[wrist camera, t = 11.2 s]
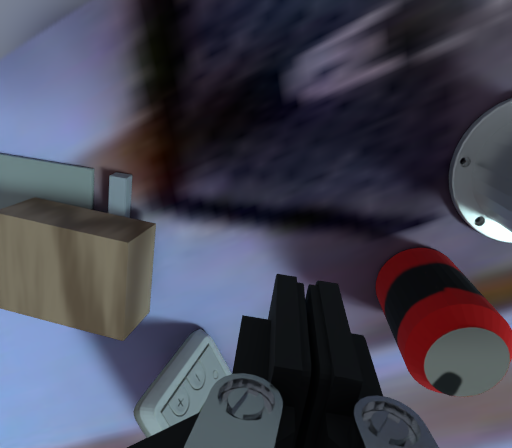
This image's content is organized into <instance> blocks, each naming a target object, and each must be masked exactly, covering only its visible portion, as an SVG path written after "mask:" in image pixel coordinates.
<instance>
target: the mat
mask: <svg viewBox="0 0 512 448" xmlns="http://www.w3.org/2000/svg"><path fill="white" fill-rule="evenodd" d="M93 196H94V169H93V168H87V167H81V166H75V165H69V164H63V163H57V162H50V161H44V160H38V159H32V158H26V157H20V156H14V155H8V154H1V153H0V209H2V208H5V207H8V206H11V205H14V204H17V203H20V202H23V201H25V200H28V199H31V198H34V197H36V198H40V199H45V200H49V201H54V202H59V203H63V204H68V205H72V206H77V207H82V208H86V209H91V210H93Z"/></svg>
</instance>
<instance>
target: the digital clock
mask: <svg viewBox="0 0 512 448" xmlns="http://www.w3.org/2000/svg"><path fill="white" fill-rule="evenodd" d="M228 375H231V372H230V370H229V368H228V366H227V364H226V363H225V361H224V359H223V357H222V355H221V353H220V352H219V350H218V348H217V346H216V345H215V343H214V341H213V340H212V338H211V337H210V336H209V335H208V334H207V333H206V332H205V331H203V330H202V329H199V330H196V331H194V332H193V333H191V334H190V335H189V337H188V338H187V339H186V340H185V342H184V343H183V344H182V345H181V347H180V348H179V349H178V351H177V352H176V353H175V354H174V356H173V357H172V358H171V360H170V361H169V362H168V363H167V365H166V366H165V367H164V369H163V370H162V371H161V372H160V374H159V375H158V376H157V378H156V379H155V380H154V381H153V383H152V384H151V385H150V387H149V388H148V389H147V390H146V392H145V393H144V394H143V396H142V397H141V398H140V400H139V401H138V403H137V404H136V406H135V408H134V417H135V419H136V421H137V423H138V425H139V426H140V428H141V430H142V431H143V433H144V434H145V436H146V438H148V437H150V436H152V435H154V434H156V433H158V432H160V431H162V430H164V429H166V428H168V427H170V426H172V425H174V424H176V423H178V422H181V421H183V420H185V419H187V418H189V417H191V416H193V415H195V414H197V413H199V412H201V410H202V407H203V405H204V403H205V401H206V399H207V397H208V395H209V392H210V390H211V388H212V387H213V385H214V384H215V383H216V382H217V381H218V380H220V379H221V378H223V377H225V376H228Z"/></svg>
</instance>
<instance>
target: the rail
mask: <svg viewBox="0 0 512 448" xmlns="http://www.w3.org/2000/svg"><path fill="white" fill-rule="evenodd" d="M131 189H132V175H130V174H124V173H118V172H115V173H114V174H112V175H110V179H109V205H108V213H109V214H114V215H118V216H123V217H127V218H130V207H131Z"/></svg>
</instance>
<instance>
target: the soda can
mask: <svg viewBox="0 0 512 448" xmlns="http://www.w3.org/2000/svg"><path fill="white" fill-rule="evenodd" d="M376 295H377V298H378V300H379V303H380V305H381V307H382V310H383V312H384V315H385V317H386V319H387V322H388V324H389V326H390V329H391V331H392V333H393V336H394V338H395V340H396V343H397V345H398V347H399V350H400V352H401V355H402V357H403V359H404V362H405V364H406V366H407V369H408V371H409V372H410V374H411V375H412V377H413V378H414V379H415V380H416V381H417V382H418V383H419V384H421V385H422V386H424V387H426V388H427V389H430V390H432V391H435V392H438V393H444V394H447V395H450V396H455V397H470V396H475V395H479V394H482V393H484V392H486V391H488V390H490V389H492V388H493V387H495V386H496V385H497V384H498V383H499V382H500V381H501V380H502V379H503V377H504V376H505V375H506V373H507V370H508V368H509V364H510V361H511V359H512V330H511V328H510V326H509V325H508V323H507V322H506V320H505V319H504V318H503V317H502V316H501V315H500V314H499V313H498V312H497V311H496V309H495V308H494V307H493V306H492V305H491V304H490V303H489V302H488V301H487V300H486V299H485V297H484V296H483V295H482V294H481V293H480V292H479V291H478V290H477V289H476V288H475V286H474V285H473V284H472V283H471V282H470V281H469V280H468V279H467V278H466V277H465V275H464V274H463V273H462V272H461V271H460V270H459V269H458V268H457V267H456V266H455V265H454V263H453V262H452V261H451V260H450V259H449V258H448V257H447V256H445V255H444V254H442V253H441V252H438V251H436V250H434V249H428V248H413V249H408V250H405V251H402V252H400V253H398V254H396V255H394V256H393V257H392V258H391V259H389V260H388V261H387V262H386V263H385V264H384V266H383V267H382V268H381V270H380V272H379V274H378V277H377V280H376Z"/></svg>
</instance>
